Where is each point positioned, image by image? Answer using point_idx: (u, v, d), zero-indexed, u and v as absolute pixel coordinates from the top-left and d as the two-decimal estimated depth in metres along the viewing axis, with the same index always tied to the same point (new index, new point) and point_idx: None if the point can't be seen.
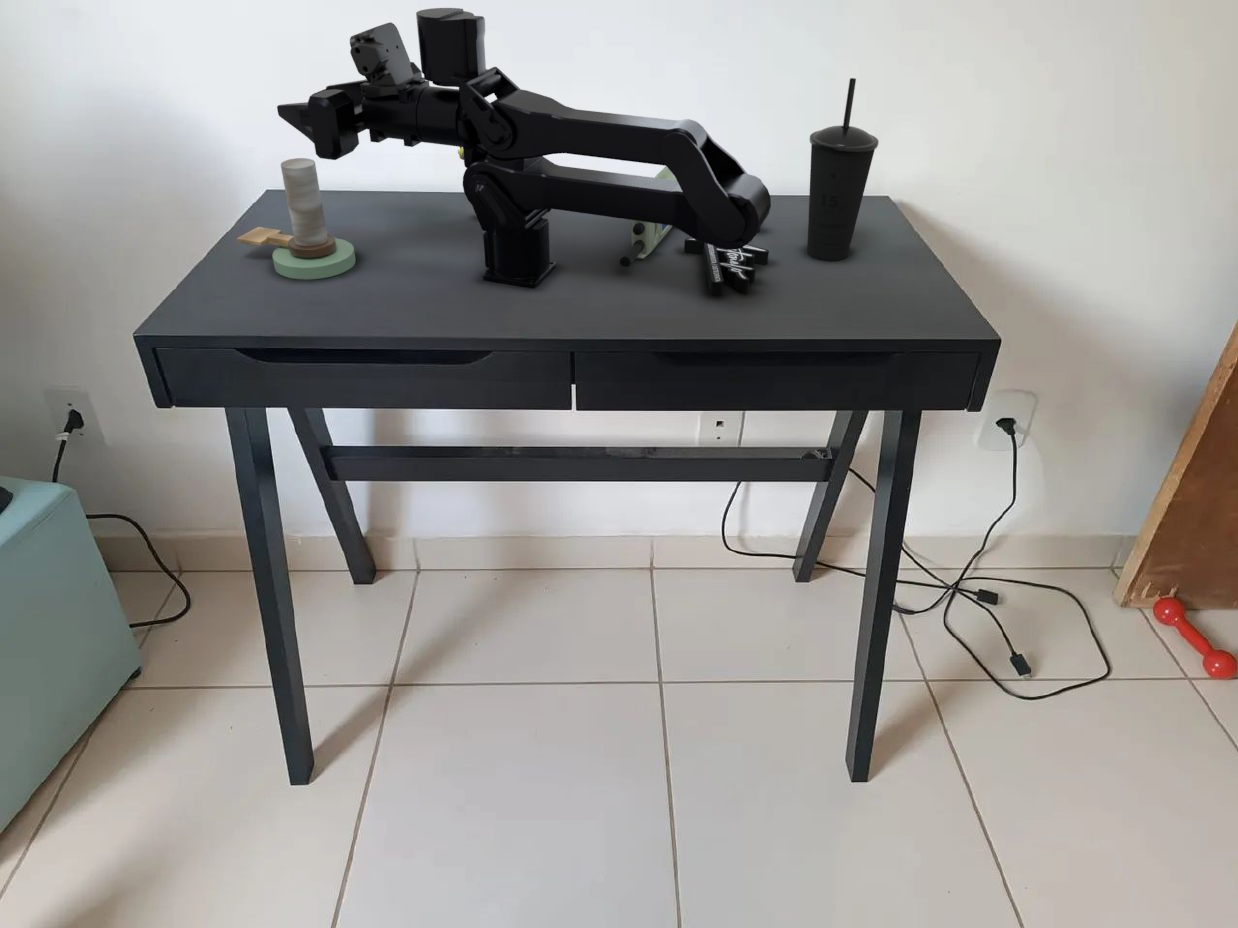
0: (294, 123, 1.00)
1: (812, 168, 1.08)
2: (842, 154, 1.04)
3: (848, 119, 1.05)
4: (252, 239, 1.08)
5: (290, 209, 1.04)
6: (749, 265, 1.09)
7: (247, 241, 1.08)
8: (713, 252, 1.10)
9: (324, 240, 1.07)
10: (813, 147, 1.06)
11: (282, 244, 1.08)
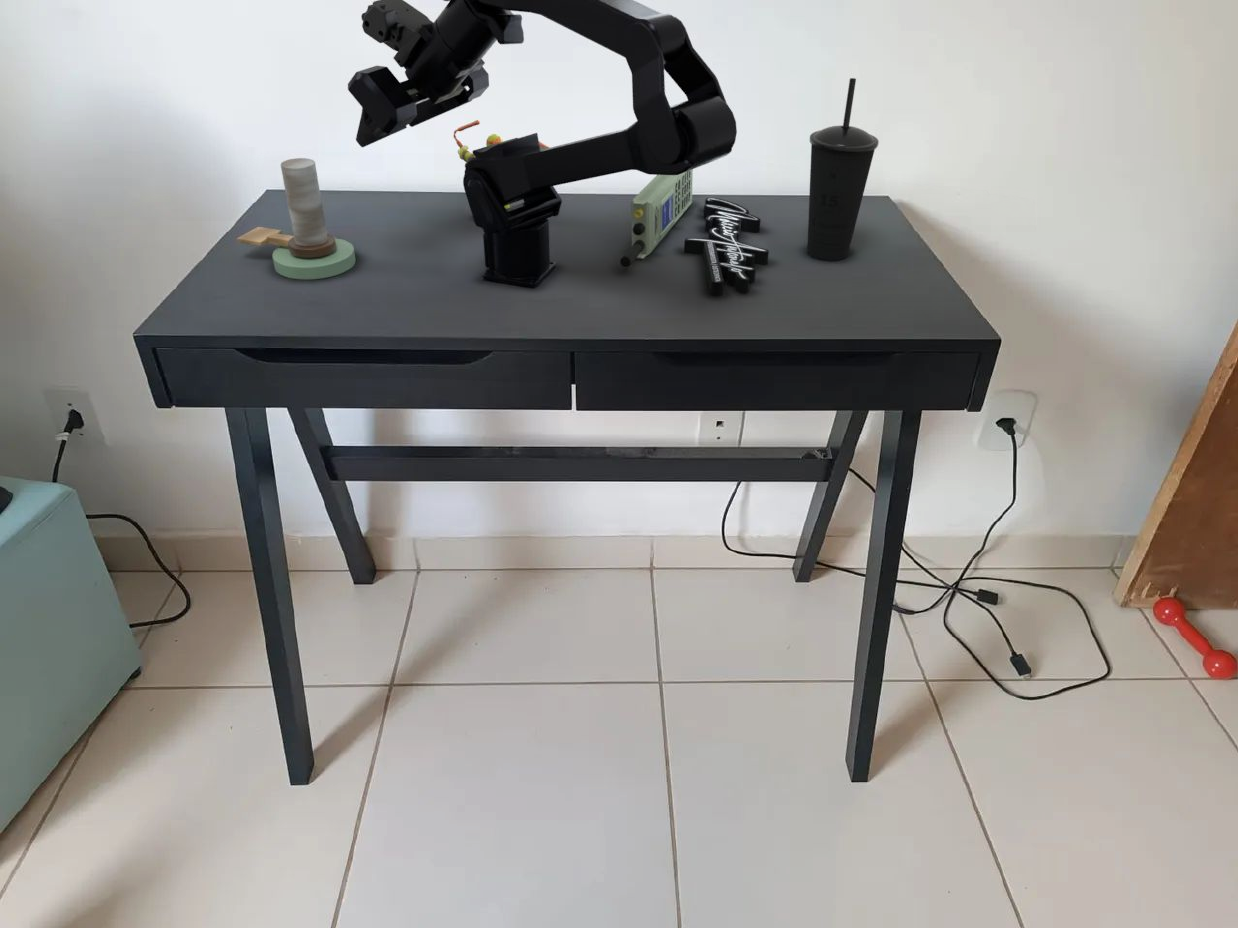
0: (370, 138, 1.01)
1: (812, 168, 1.08)
2: (842, 154, 1.04)
3: (848, 119, 1.05)
4: (252, 239, 1.08)
5: (290, 209, 1.04)
6: (749, 265, 1.09)
7: (247, 241, 1.08)
8: (713, 252, 1.10)
9: (324, 240, 1.07)
10: (813, 147, 1.06)
11: (282, 244, 1.08)
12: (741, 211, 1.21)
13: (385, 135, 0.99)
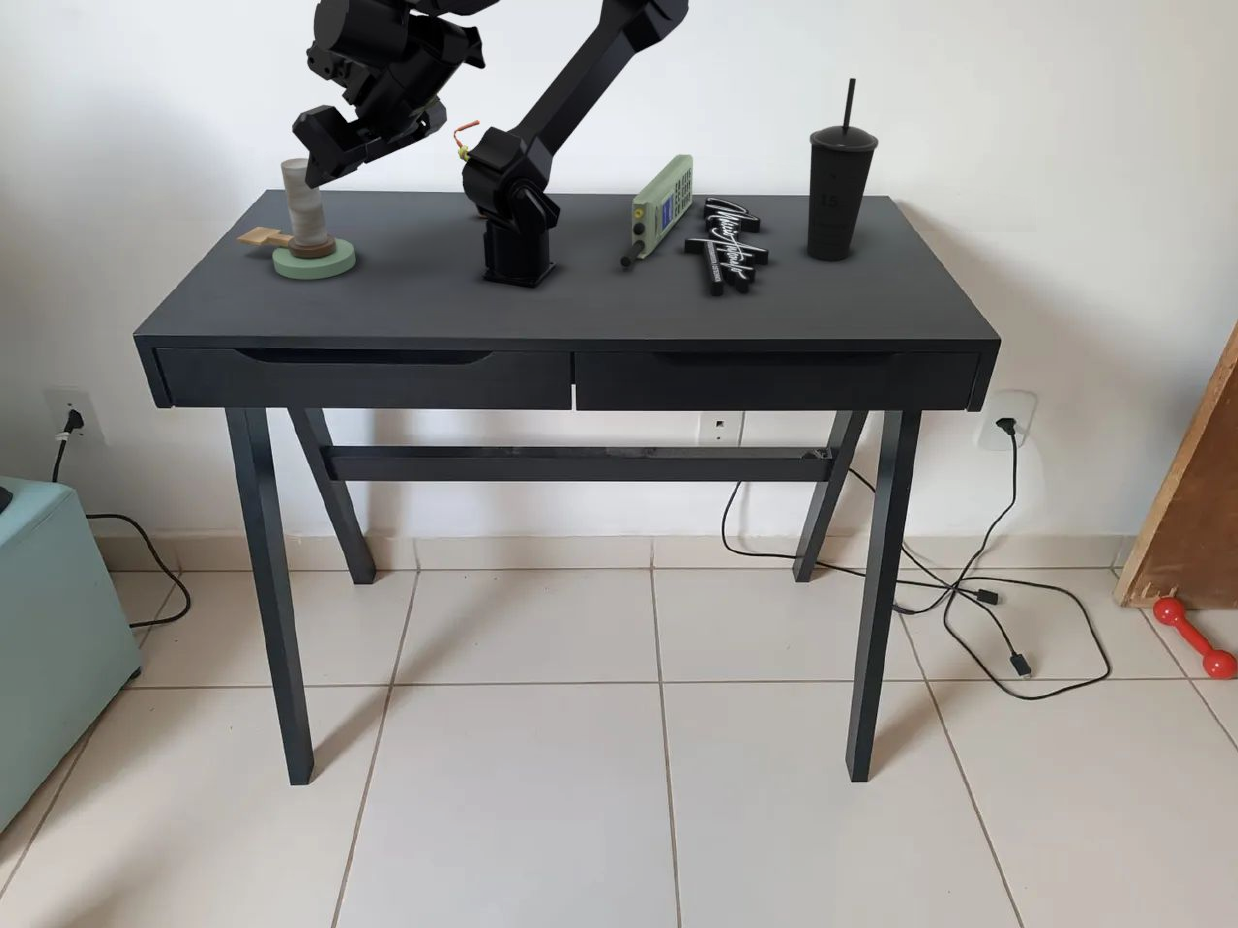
0: (319, 180, 0.95)
1: (812, 168, 1.08)
2: (842, 154, 1.04)
3: (848, 119, 1.05)
4: (252, 239, 1.08)
5: (290, 209, 1.04)
6: (749, 265, 1.09)
7: (247, 241, 1.08)
8: (713, 252, 1.10)
9: (324, 240, 1.07)
10: (813, 147, 1.06)
11: (282, 244, 1.08)
12: (741, 211, 1.21)
13: (335, 178, 0.93)
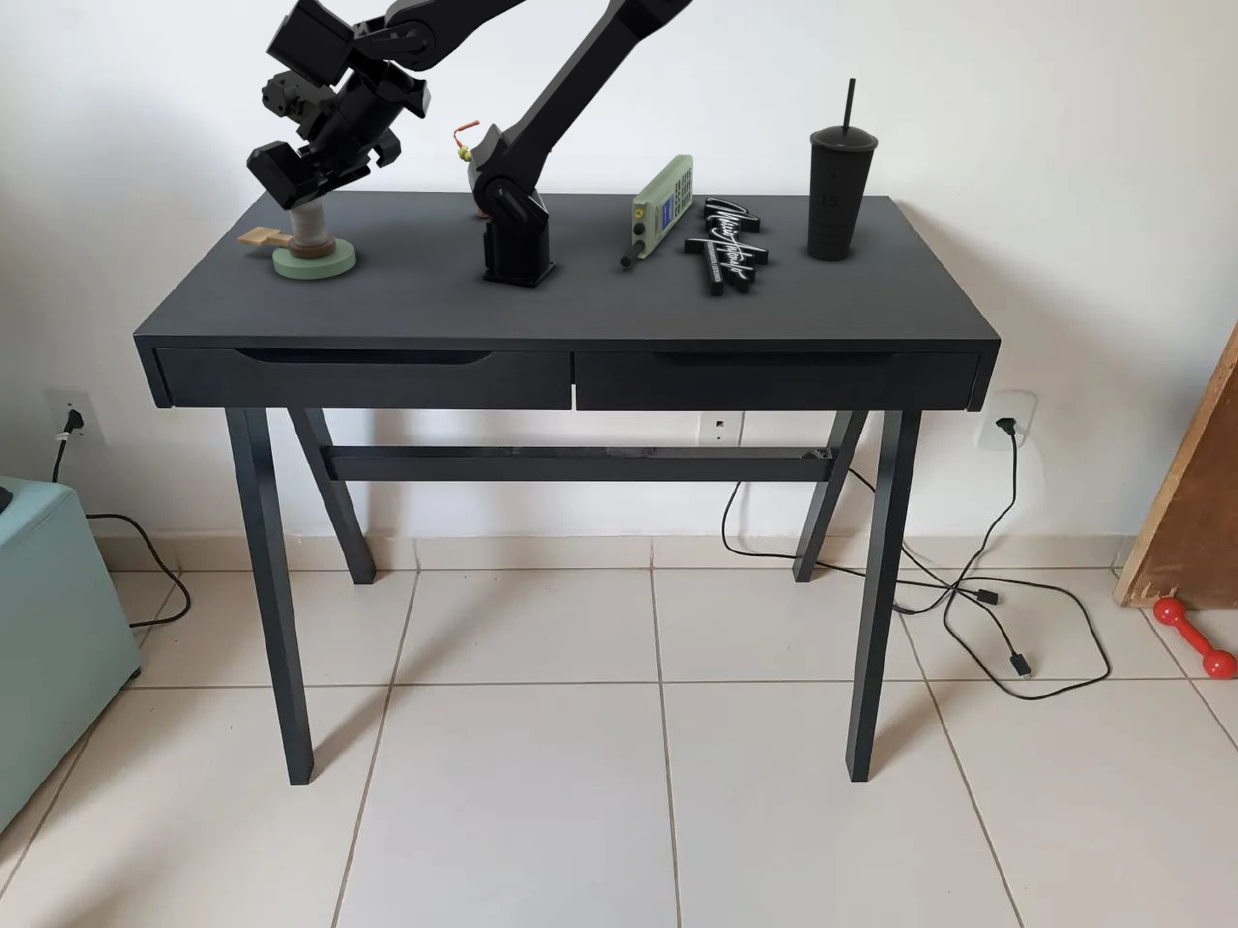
0: None
1: (812, 168, 1.08)
2: (842, 154, 1.04)
3: (848, 119, 1.05)
4: (252, 239, 1.08)
5: None
6: (749, 265, 1.09)
7: (247, 241, 1.08)
8: (713, 252, 1.10)
9: (324, 240, 1.07)
10: (813, 147, 1.06)
11: (282, 244, 1.08)
12: (741, 211, 1.21)
13: (305, 201, 1.00)
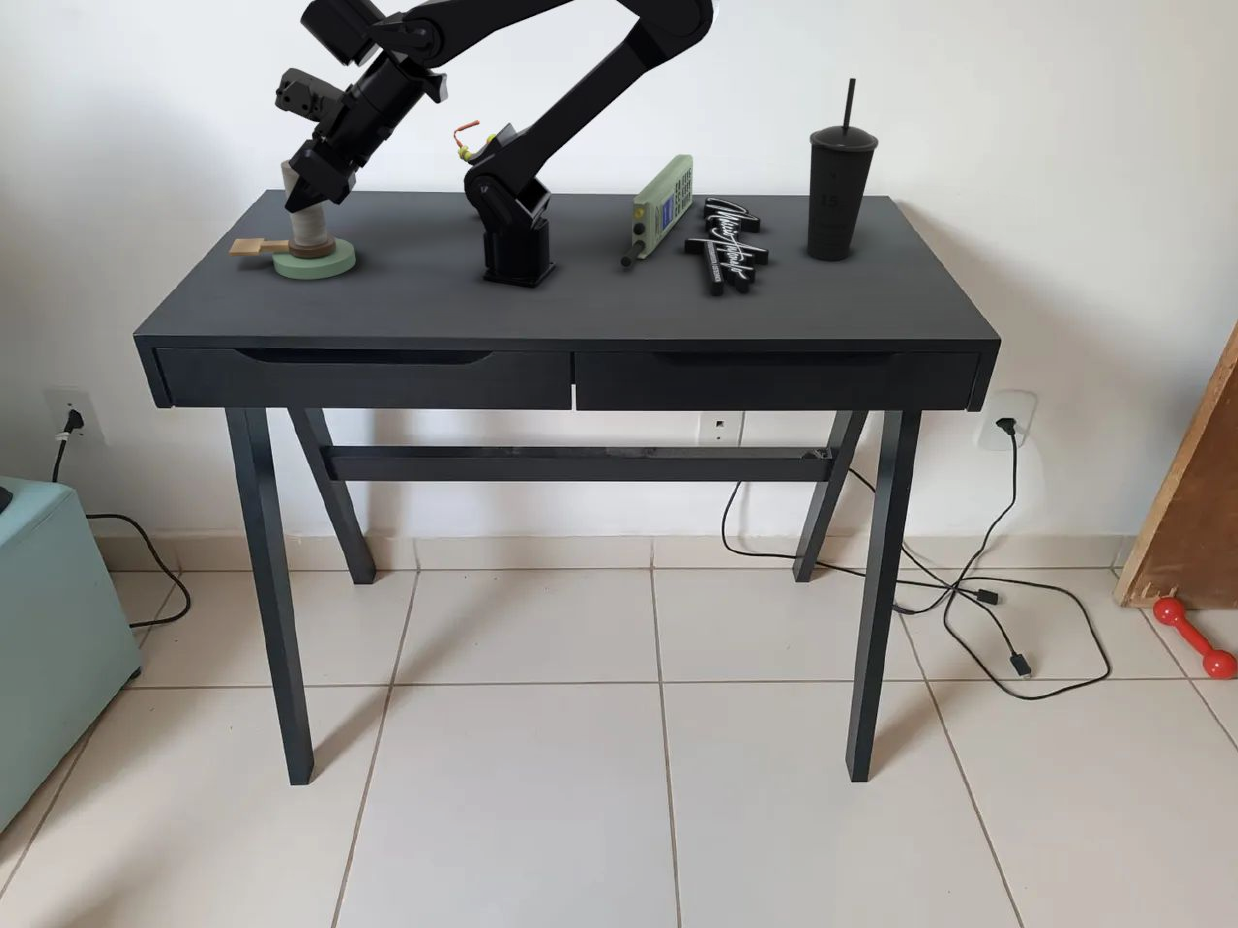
0: (306, 203, 1.02)
1: (812, 168, 1.08)
2: (842, 154, 1.04)
3: (848, 119, 1.05)
4: (247, 250, 1.05)
5: None
6: (749, 265, 1.09)
7: (242, 253, 1.05)
8: (713, 252, 1.10)
9: (327, 237, 1.07)
10: (813, 147, 1.06)
11: (279, 250, 1.07)
12: (741, 211, 1.21)
13: None
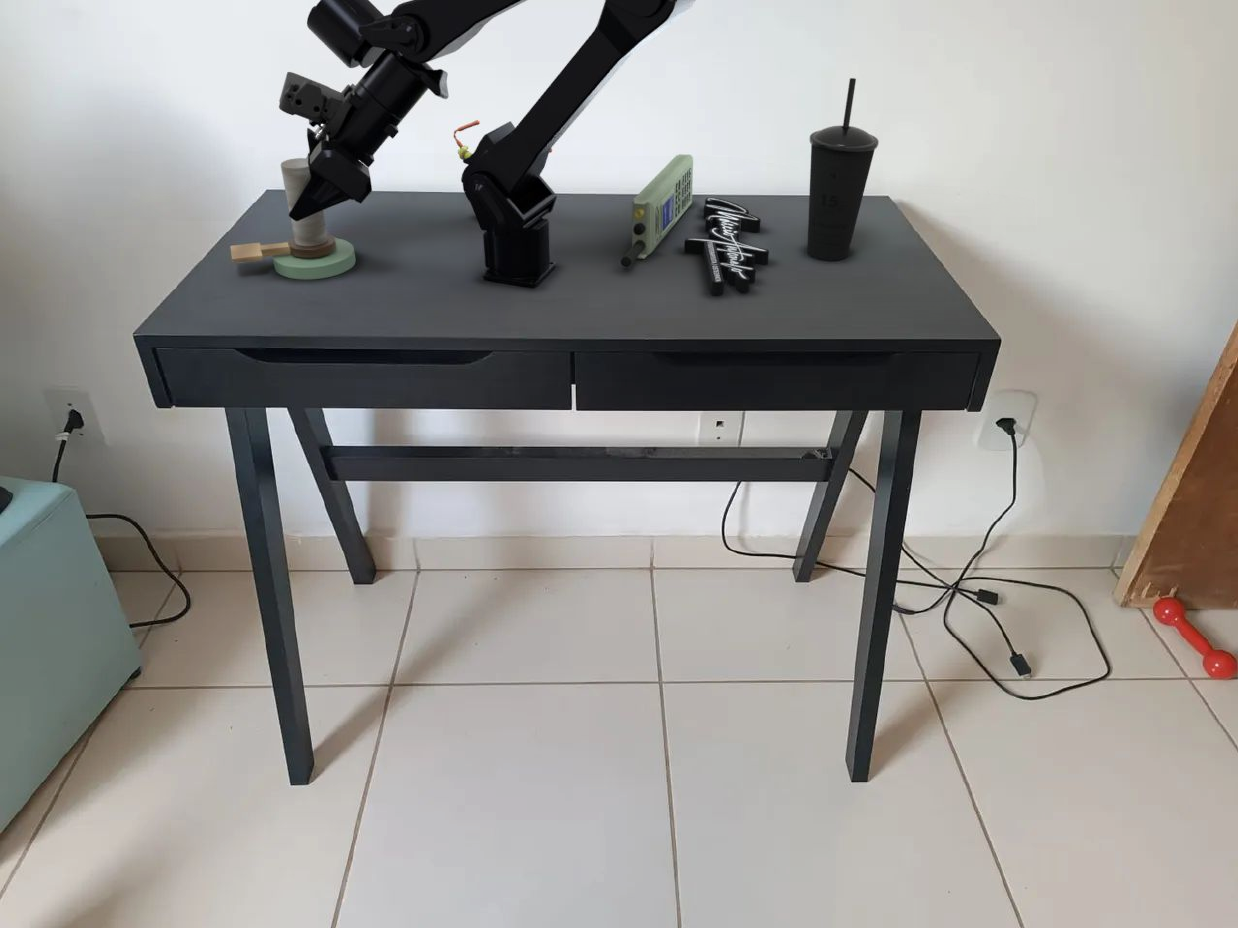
0: (313, 209, 1.02)
1: (812, 168, 1.08)
2: (842, 154, 1.04)
3: (848, 119, 1.05)
4: (249, 255, 1.04)
5: None
6: (749, 265, 1.09)
7: (246, 259, 1.04)
8: (713, 252, 1.10)
9: (327, 236, 1.08)
10: (813, 147, 1.06)
11: (280, 252, 1.06)
12: (741, 211, 1.21)
13: (338, 202, 1.01)
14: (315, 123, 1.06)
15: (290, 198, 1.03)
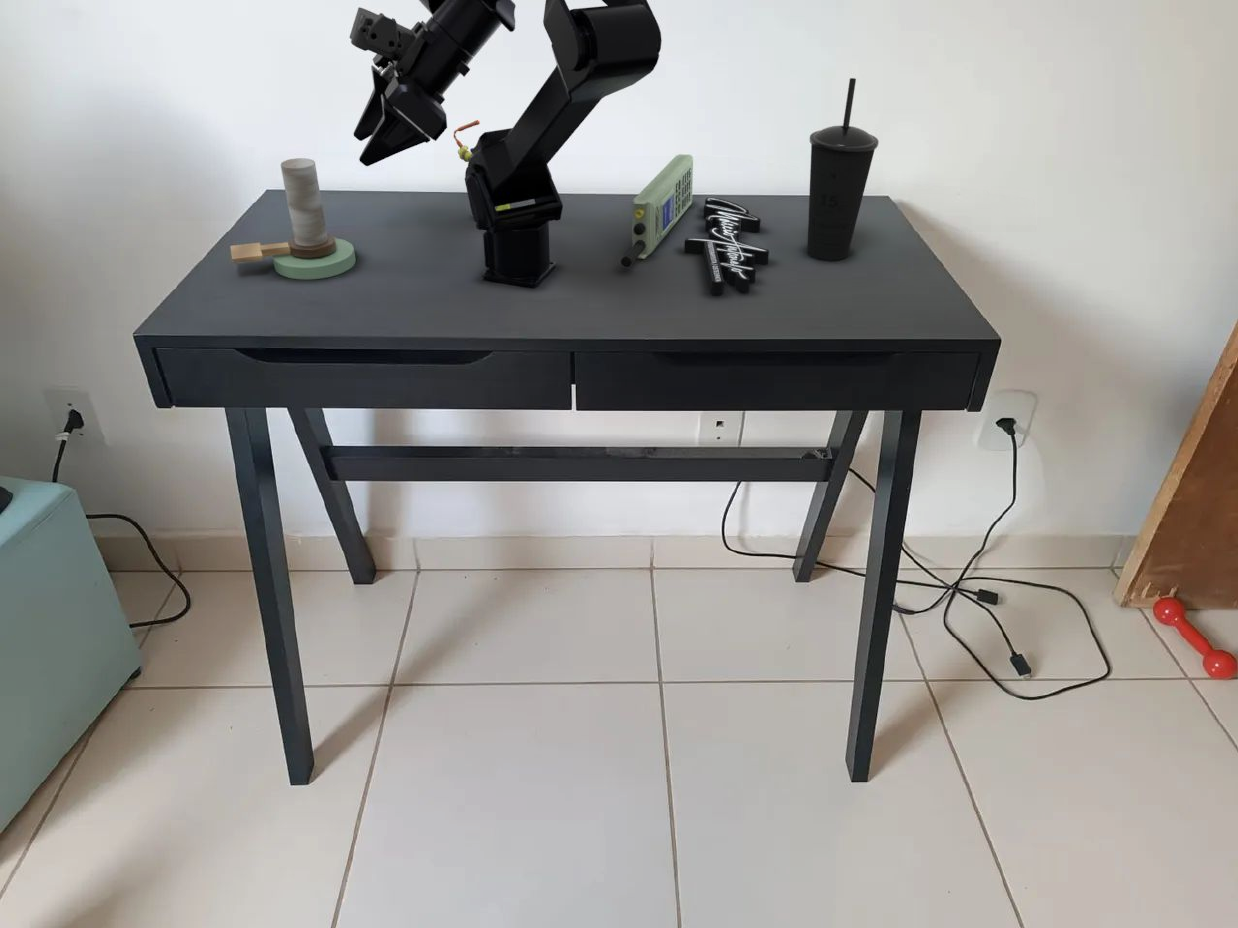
0: (384, 153, 0.99)
1: (812, 168, 1.08)
2: (842, 154, 1.04)
3: (848, 119, 1.05)
4: (249, 255, 1.04)
5: (299, 211, 1.04)
6: (749, 265, 1.09)
7: (246, 259, 1.04)
8: (713, 252, 1.10)
9: (327, 236, 1.08)
10: (813, 147, 1.06)
11: (280, 252, 1.06)
12: (742, 211, 1.21)
13: (411, 146, 0.98)
14: (381, 63, 1.04)
15: (290, 198, 1.03)
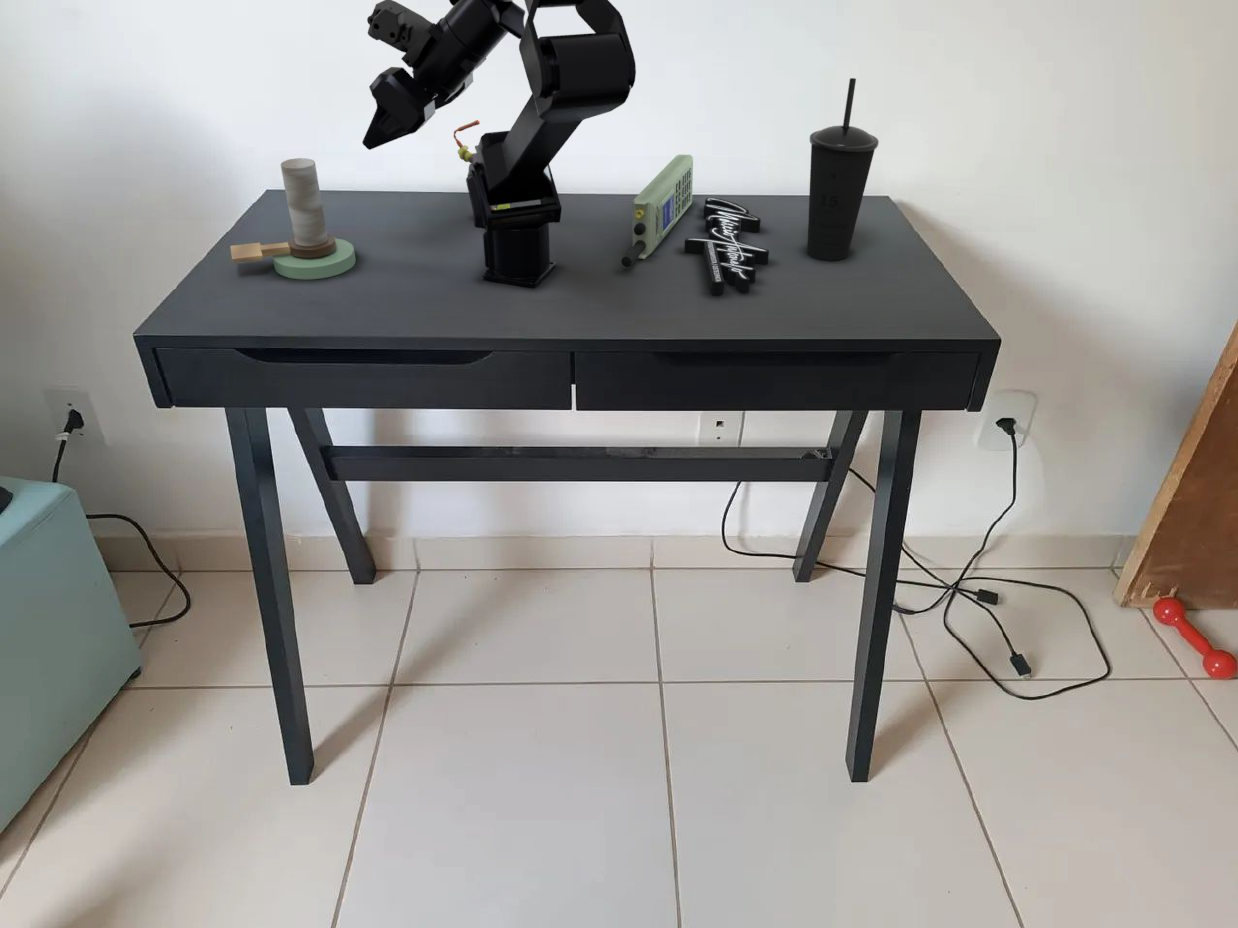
0: (382, 139, 1.03)
1: (812, 168, 1.08)
2: (842, 154, 1.04)
3: (848, 119, 1.05)
4: (249, 255, 1.04)
5: (299, 211, 1.04)
6: (749, 265, 1.09)
7: (246, 259, 1.04)
8: (713, 252, 1.10)
9: (327, 236, 1.08)
10: (813, 147, 1.06)
11: (280, 252, 1.06)
12: (742, 211, 1.21)
13: (402, 135, 1.01)
14: None
15: (290, 198, 1.03)
